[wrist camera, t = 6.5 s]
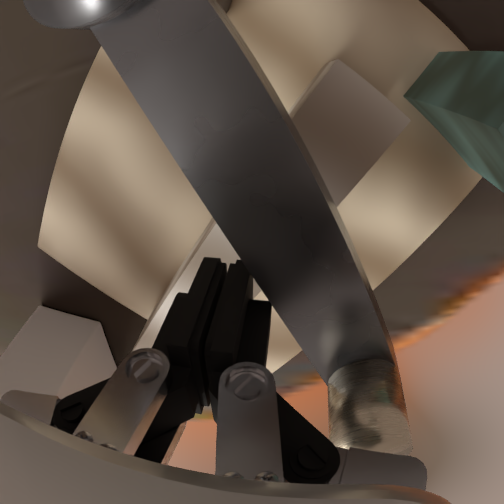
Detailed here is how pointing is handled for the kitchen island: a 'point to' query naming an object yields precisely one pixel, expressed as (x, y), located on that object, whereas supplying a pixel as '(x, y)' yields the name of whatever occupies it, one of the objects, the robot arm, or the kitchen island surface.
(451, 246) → the kitchen island surface
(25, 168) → the kitchen island surface
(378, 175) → the base
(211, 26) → the swing bar
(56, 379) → the milk carton
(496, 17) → the kitchen island surface
